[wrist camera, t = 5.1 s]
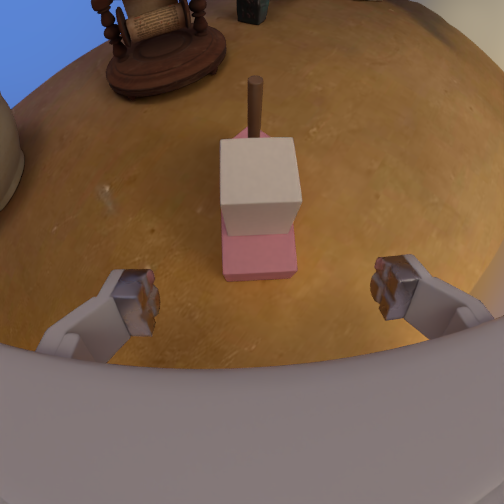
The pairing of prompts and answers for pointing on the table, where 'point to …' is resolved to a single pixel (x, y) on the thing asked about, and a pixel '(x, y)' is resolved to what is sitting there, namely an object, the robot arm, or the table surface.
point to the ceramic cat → (252, 11)
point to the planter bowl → (9, 154)
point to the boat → (258, 199)
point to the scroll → (159, 45)
